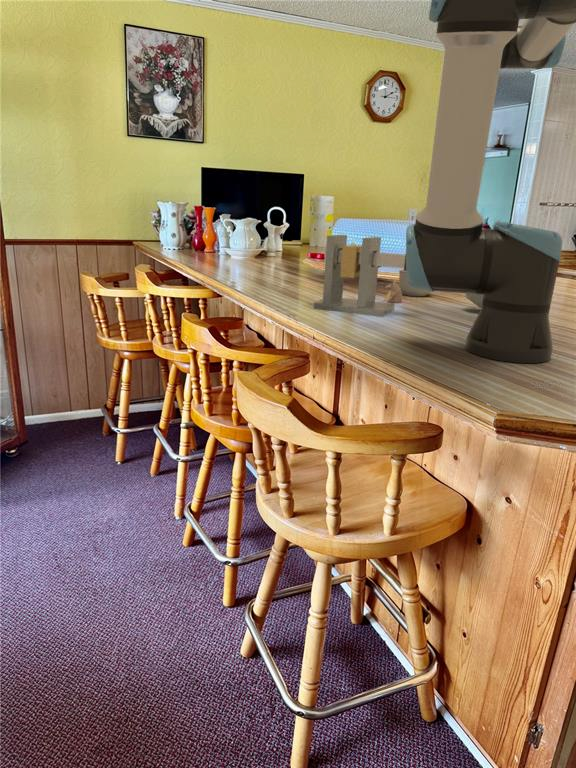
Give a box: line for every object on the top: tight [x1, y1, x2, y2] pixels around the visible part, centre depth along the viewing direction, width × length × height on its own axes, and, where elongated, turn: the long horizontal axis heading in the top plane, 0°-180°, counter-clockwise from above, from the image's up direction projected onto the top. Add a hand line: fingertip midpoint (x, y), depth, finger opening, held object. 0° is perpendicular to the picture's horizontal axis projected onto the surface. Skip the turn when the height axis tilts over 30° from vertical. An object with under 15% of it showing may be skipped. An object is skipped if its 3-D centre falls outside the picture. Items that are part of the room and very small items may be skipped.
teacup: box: [398, 268, 432, 297], centre depth 167 cm, size 14×11×8 cm
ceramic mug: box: [464, 293, 483, 309], centre depth 143 cm, size 11×8×8 cm
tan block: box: [340, 244, 362, 279], centre depth 136 cm, size 7×4×7 cm, turn 157°
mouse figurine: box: [383, 277, 410, 304], centre depth 152 cm, size 5×8×7 cm, turn 91°
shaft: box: [323, 248, 407, 271], centre depth 134 cm, size 4×24×4 cm, turn 67°
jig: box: [313, 234, 395, 318], centre depth 137 cm, size 12×18×18 cm, turn 67°
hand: (445, 204), depth 132 cm, fingers open, 13 cm apart
